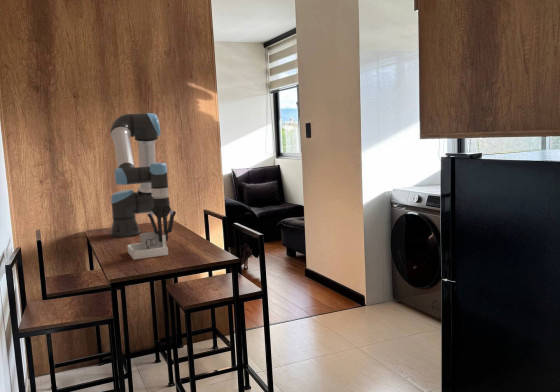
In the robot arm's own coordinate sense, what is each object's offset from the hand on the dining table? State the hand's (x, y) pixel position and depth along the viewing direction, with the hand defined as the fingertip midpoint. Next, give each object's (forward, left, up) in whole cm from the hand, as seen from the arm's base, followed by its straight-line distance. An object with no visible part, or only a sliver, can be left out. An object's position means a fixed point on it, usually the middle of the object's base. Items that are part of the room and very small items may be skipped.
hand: (164, 248), depth 244 cm
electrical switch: (-2, -6, -2) cm, 6 cm away
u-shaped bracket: (0, -8, -1) cm, 8 cm away
